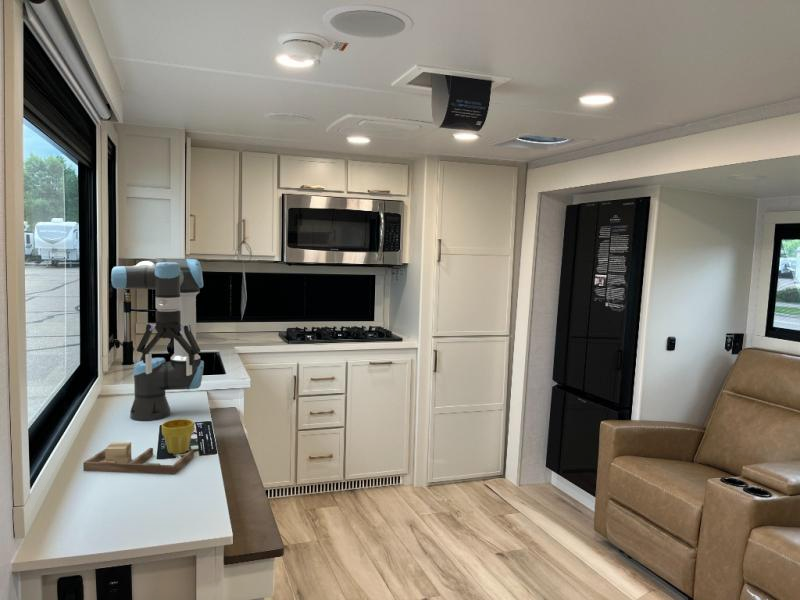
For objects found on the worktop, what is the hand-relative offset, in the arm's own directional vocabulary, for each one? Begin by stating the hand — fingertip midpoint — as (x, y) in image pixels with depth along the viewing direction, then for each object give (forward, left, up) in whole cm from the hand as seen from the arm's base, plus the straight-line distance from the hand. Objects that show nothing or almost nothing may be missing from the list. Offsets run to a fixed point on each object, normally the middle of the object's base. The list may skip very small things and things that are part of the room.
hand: (169, 374), depth 192 cm
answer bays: (+7, -7, -28) cm, 30 cm away
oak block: (+7, -14, -28) cm, 32 cm away
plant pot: (-6, 0, -29) cm, 29 cm away
